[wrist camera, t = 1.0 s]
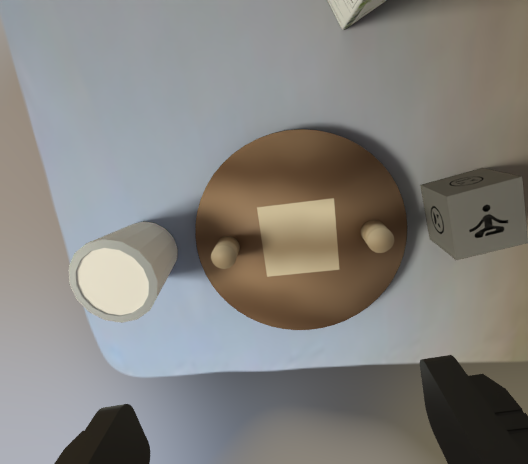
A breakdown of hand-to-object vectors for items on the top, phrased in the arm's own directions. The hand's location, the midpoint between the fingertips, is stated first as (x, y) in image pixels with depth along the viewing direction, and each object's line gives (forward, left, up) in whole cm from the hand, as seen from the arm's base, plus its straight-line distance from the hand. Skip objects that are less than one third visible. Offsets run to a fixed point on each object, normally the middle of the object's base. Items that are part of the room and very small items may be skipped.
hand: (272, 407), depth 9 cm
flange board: (+1, +2, -22) cm, 22 cm away
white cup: (+11, -8, -22) cm, 26 cm away
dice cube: (-10, +11, -22) cm, 27 cm away
